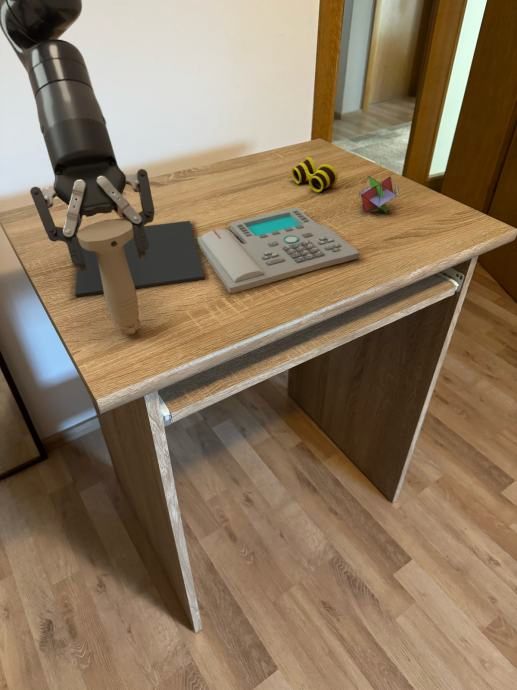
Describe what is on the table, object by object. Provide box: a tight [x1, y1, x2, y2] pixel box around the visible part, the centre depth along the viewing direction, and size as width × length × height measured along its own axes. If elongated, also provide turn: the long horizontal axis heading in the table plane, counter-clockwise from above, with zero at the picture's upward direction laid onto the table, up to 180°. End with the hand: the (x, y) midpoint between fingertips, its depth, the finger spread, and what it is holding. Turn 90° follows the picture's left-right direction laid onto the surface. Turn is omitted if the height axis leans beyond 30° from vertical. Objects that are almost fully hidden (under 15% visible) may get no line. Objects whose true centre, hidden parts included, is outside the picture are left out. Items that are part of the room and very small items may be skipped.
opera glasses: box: [290, 156, 339, 193], centre depth 104 cm, size 10×5×5 cm, turn 38°
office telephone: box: [197, 207, 360, 294], centre depth 84 cm, size 23×3×20 cm
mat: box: [74, 220, 206, 298], centre depth 83 cm, size 20×20×1 cm
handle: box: [77, 218, 141, 335], centre depth 62 cm, size 5×6×15 cm
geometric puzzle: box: [358, 175, 400, 214], centre depth 93 cm, size 7×7×8 cm
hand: (113, 262), depth 59 cm, fingers closed on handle, 6 cm apart
